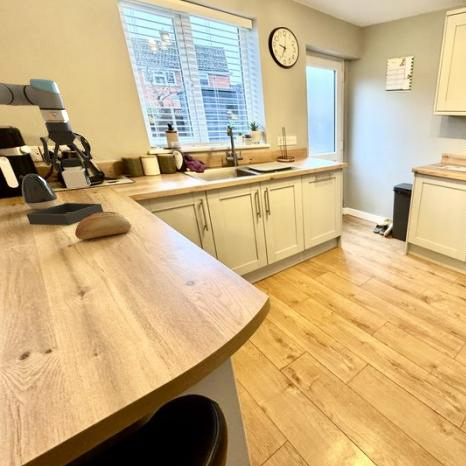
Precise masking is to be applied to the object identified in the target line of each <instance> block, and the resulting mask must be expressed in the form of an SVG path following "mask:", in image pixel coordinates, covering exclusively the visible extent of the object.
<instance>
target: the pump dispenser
mask: <svg viewBox="0 0 466 466" xmlns="http://www.w3.org/2000/svg"><path fill="white" fill-rule="evenodd" d="M19 179H22V184H21V193H22V198H23V202H24V204H26V205H27V206H28V207H29V208H31V209H33V210H37V211H39V210H43V209H46V208H50V207H53V206H56V205H57V199H58V197H57V194H56V193H55V191H54V189H53V188H52V186H51V185H50V184H49V183H48V182H47V180H45V179H44V178H43V177H42V176H41V175H39V174H37V173H36V174H35V173H29V174H26V175H25V176H24V175H19Z"/></svg>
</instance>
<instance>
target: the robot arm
mask: <svg viewBox="0 0 466 466" xmlns="http://www.w3.org/2000/svg"><path fill="white" fill-rule="evenodd" d="M0 105H2V106H10V107H11V106H13V107H19V106H21V107H22V106H23V107H27V106H28V107H29V106H30V107H31V106H34V107H35V106H36V107H38V109H39V111H40V114H41V118H42V120H43V121H44V122H45V123H44V125H45V128H46V131H47V133H48V134H47V135H46V136H40V137H39V140H40V142H41V143H42V149H43V154H44V155H43V156H44V160H45V162H46V163H51V164H52V165H53V168H54V171H55V172H59V174H60V176H61V179H62V180H64V178H63V175H62V172H63V169H62V166H61V164H60V163H61V162H57V161H58V156H59V150H60V146H71V147H72V148H73V149H74V151H75V152H76V153H77V154H78V155H79V156H80V157H81V158H82V163H83V167H84V169H85V170H86V173H87V176H88V177H89V178H90V176H91V174H90V173H89V170H88V169H91V165H90V162H89V161H91V160H93V155H92V154H91V152H90V150H89V148H88V146H87V144H86V142H85V136H84V135H76V134H75V133H74V132H73V129H72V126H71V123H70V122H68V121H69V116H68V113H67V111H66V107H65V106H64V105H65V104H64V102H63V99H62V96H61V92H60V89H59V88H58V85H57V82H55V81H54V80H51V79H45V78H44V79H43V78H30V79H29V84H16V83H15V84H14V83H6V82H5V83H3V82H0ZM49 140H50V141H52V142H53V143H55V144H54V148H53V155H52V158H51V157H50V151H49V145H48V142H49ZM75 140H77V141H78V142H80V144H81V146H82V148H83V150H84V151H85V153H86V155H87V156H86V155H85V154H84V153H83V152H82V151H81V150H80V148H79V147H78V146H77V145H76V144H75V143H74V142H75Z"/></svg>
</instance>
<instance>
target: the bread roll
mask: <svg viewBox="0 0 466 466" xmlns="http://www.w3.org/2000/svg"><path fill="white" fill-rule="evenodd" d="M131 229H132V224H131V222H130V221H129V220H128V219H127V218H126V217H125V216H124V215H123V214H120V213H118V212H114V211H103V212H99V213H94V214H89V215H87V216H86V217H84V218H83V219H82V220H81V221H79V222H78V224H77V226H76V228H75V230H74V235H75V237H76V238H77V239H78V240H88V239H95V238H101V237H106V236H112V235H117V234H118V235H119V234H123V233H128V232H129V231H130V230H131Z"/></svg>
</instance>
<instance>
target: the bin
mask: <svg viewBox="0 0 466 466" xmlns="http://www.w3.org/2000/svg"><path fill="white" fill-rule="evenodd" d="M99 212H104V209H103V206H102V204H101V203H89V202H88V203H87V202H86V203H85V202H84V203H83V202H65V203H61V204H56V205H55V206H53V207H50V208H46V209H41V210H35V211H32V212H29V213H25V216H26V218H27V220H28V223H29V224H30V225H51V226H70V225H73V224H76V223H80V222H81V220H82V219H83V218H84V217H86V216H87V215H89V214H94V213H99Z"/></svg>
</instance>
